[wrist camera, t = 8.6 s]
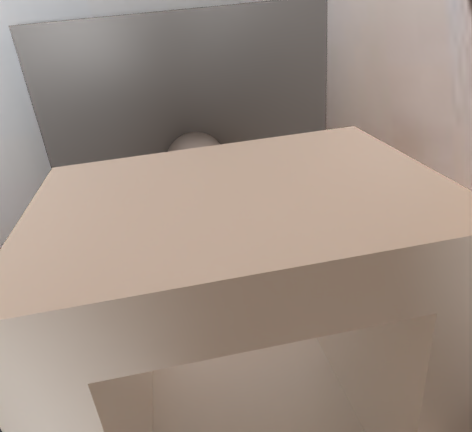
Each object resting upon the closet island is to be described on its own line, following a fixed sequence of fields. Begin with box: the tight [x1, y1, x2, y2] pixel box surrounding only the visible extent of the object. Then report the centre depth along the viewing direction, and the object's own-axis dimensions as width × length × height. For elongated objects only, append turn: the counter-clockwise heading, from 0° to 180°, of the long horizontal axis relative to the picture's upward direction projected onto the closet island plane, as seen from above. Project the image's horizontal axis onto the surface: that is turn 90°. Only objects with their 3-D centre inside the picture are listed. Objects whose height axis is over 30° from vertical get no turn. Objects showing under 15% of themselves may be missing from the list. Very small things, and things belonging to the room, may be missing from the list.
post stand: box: [9, 0, 327, 168], centre depth 17 cm, size 12×12×6 cm
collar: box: [0, 126, 472, 432], centre depth 8 cm, size 7×7×5 cm
